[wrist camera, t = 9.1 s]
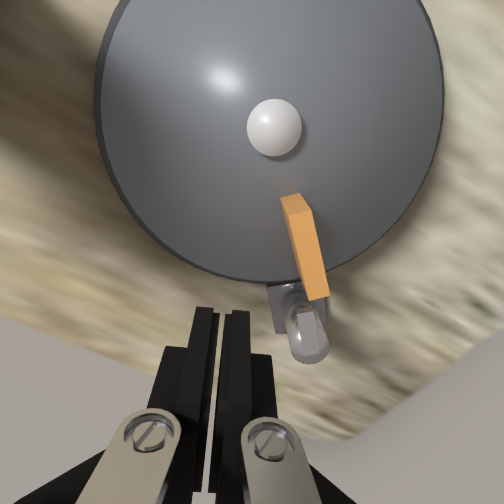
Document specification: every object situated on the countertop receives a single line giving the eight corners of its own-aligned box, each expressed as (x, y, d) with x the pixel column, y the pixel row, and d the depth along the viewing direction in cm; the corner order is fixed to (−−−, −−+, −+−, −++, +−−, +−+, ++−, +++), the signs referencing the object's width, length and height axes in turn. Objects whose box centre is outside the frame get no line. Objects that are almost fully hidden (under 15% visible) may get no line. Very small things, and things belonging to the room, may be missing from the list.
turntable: (52, -7, 21) (-9, -43, 15) (409, -121, 19) (471, -201, 14) (173, 301, 27) (157, 347, 22) (443, 230, 26) (494, 261, 21)
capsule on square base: (325, 319, 30) (346, 371, 24) (274, 328, 30) (283, 382, 25) (318, 264, 29) (339, 306, 23) (264, 274, 29) (271, 318, 23)
